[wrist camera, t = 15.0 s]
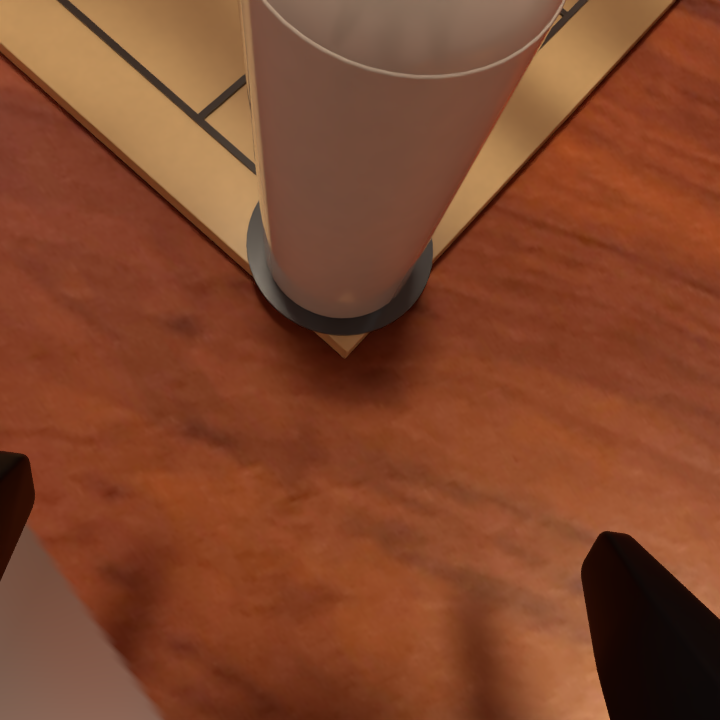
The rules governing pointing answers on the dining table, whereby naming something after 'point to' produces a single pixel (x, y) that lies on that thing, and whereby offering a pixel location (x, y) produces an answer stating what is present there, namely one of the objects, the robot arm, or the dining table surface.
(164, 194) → the game board
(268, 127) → the dome-capped cylinder
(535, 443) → the dining table surface
